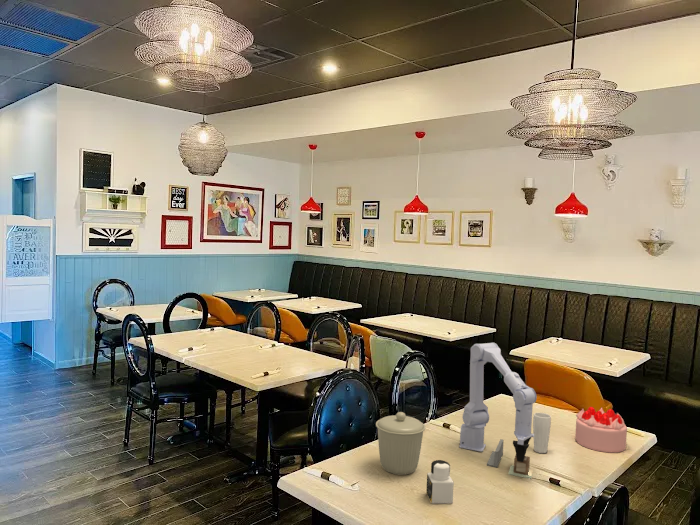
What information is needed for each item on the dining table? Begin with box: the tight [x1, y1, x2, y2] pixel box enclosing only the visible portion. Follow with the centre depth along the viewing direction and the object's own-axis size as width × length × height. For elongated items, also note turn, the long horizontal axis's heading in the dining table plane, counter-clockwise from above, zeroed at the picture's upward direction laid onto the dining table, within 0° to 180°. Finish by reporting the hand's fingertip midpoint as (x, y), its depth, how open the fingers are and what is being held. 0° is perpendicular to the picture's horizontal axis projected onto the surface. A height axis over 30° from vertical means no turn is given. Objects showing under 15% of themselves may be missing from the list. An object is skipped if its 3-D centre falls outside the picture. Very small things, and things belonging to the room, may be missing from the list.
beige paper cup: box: [532, 412, 552, 454], centre depth 217 cm, size 7×7×15 cm
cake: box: [574, 406, 628, 454], centre depth 228 cm, size 20×20×14 cm
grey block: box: [486, 438, 505, 469], centre depth 207 cm, size 4×14×6 cm, turn 156°
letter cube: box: [513, 454, 531, 475], centre depth 196 cm, size 5×5×5 cm
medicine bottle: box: [426, 459, 454, 504], centre depth 174 cm, size 7×7×12 cm
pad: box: [507, 464, 533, 480], centre depth 196 cm, size 8×8×1 cm
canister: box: [375, 411, 426, 476], centre depth 195 cm, size 18×18×21 cm
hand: (521, 457), depth 196 cm, fingers open, 7 cm apart
